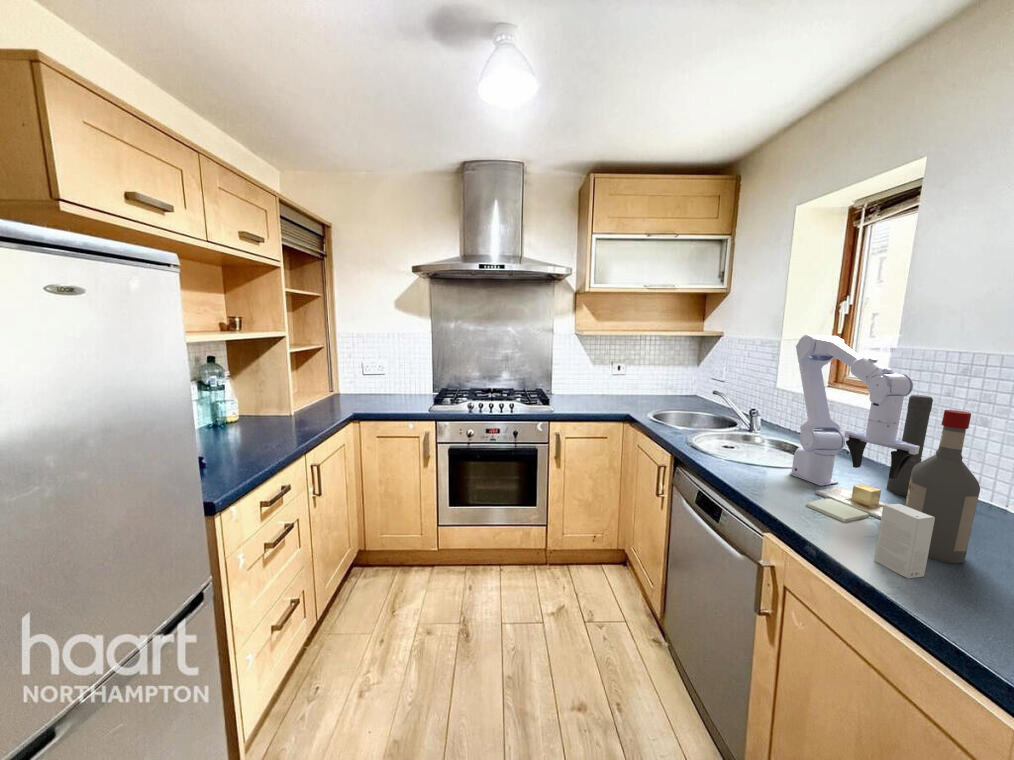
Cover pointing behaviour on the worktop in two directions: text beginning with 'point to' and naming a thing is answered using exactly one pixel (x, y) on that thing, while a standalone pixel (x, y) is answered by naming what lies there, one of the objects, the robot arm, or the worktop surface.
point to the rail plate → (845, 498)
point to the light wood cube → (866, 496)
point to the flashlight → (912, 440)
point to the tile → (837, 510)
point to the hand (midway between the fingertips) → (874, 472)
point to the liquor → (946, 491)
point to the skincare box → (904, 540)
